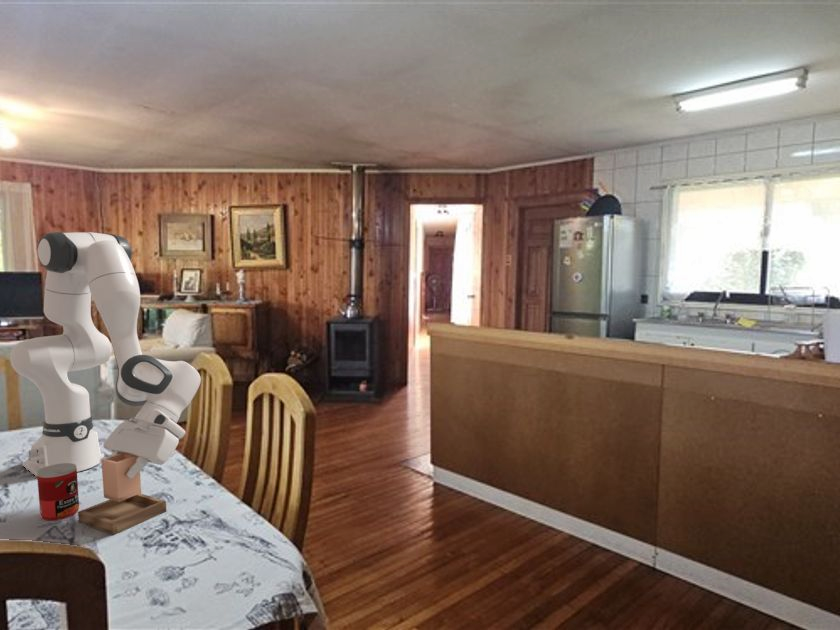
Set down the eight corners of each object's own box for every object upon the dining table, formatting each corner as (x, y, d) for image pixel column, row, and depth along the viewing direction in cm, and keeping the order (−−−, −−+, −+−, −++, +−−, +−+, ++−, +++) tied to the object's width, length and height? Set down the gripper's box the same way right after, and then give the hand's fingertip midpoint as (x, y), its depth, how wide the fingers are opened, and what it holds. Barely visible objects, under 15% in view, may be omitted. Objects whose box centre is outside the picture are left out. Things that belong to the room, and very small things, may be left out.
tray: (78, 522, 123) (77, 511, 123) (132, 500, 134) (131, 490, 134) (113, 535, 117) (112, 524, 117) (166, 511, 128) (165, 501, 128)
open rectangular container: (103, 497, 124) (101, 459, 123) (126, 488, 129) (124, 452, 128) (118, 502, 121) (115, 463, 121) (141, 492, 126) (138, 455, 125)
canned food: (60, 522, 123) (57, 476, 122) (31, 519, 125) (28, 473, 124) (87, 508, 130) (84, 463, 129) (59, 505, 132) (56, 461, 131)
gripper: (119, 410, 135) (82, 461, 127) (173, 420, 125) (136, 475, 117) (137, 423, 139) (102, 473, 131) (190, 433, 129) (156, 488, 121)
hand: (118, 474), depth 124 cm, fingers closed on open rectangular container, 5 cm apart
